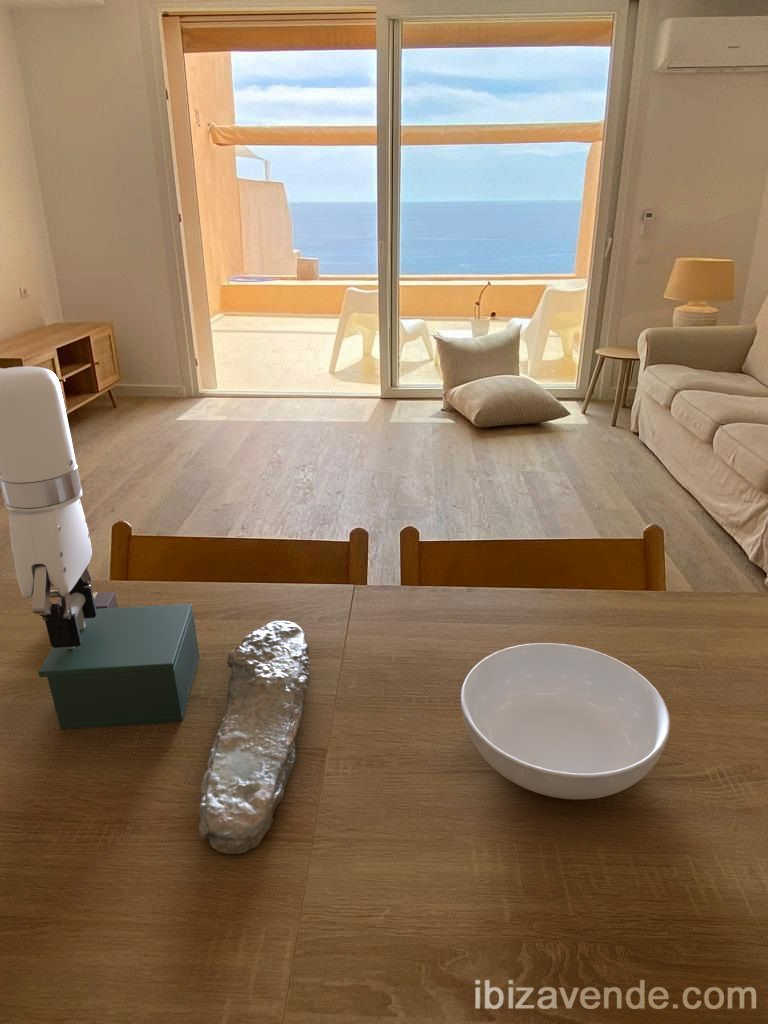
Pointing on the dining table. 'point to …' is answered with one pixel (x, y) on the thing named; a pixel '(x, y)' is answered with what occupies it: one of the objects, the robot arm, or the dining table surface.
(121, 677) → the green bin
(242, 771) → the foil wrapped baguette
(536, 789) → the serving bowl
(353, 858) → the dining table surface
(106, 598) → the chocolate bar
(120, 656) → the bin lid
